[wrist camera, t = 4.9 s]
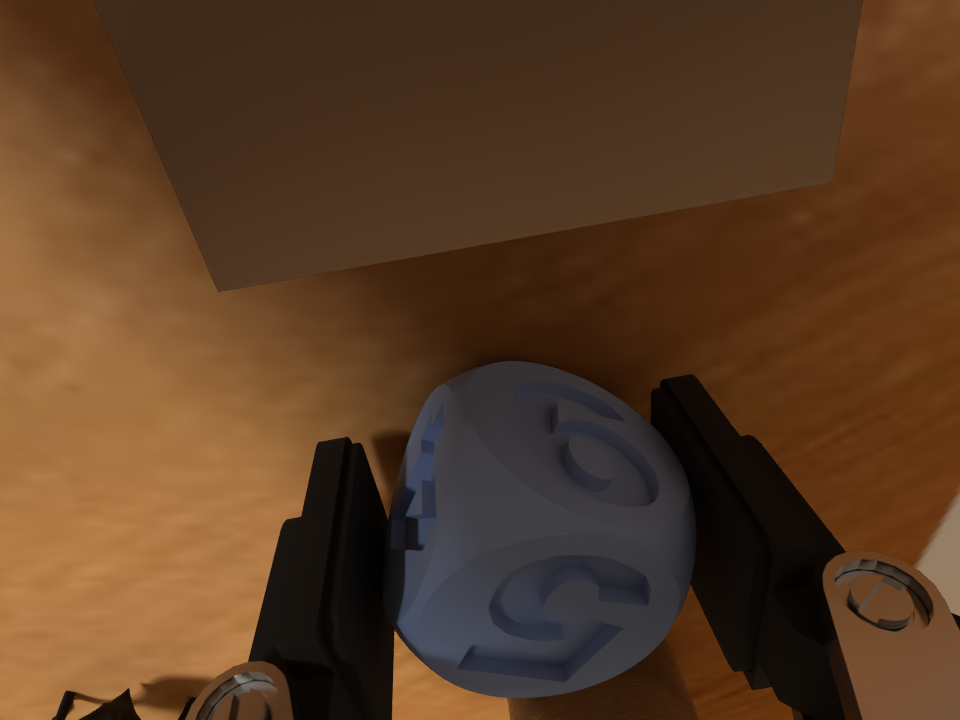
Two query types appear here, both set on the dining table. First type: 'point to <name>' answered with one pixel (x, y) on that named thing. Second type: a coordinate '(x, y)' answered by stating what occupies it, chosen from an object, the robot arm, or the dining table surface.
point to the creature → (111, 708)
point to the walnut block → (471, 117)
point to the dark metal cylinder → (619, 695)
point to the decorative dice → (535, 533)
